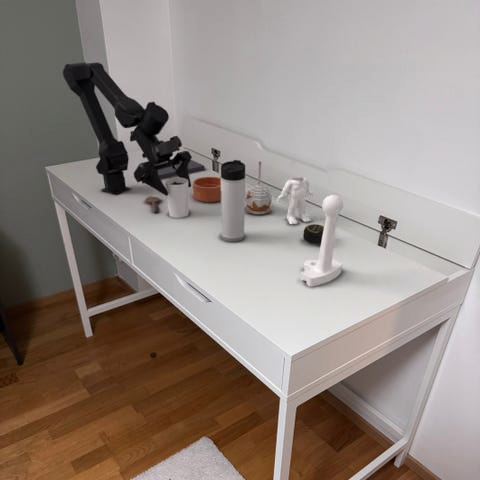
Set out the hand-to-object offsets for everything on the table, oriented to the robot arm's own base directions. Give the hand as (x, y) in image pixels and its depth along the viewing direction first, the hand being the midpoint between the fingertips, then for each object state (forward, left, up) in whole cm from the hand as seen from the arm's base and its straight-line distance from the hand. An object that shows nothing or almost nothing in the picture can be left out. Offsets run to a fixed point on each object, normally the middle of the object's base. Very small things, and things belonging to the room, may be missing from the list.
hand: (179, 190), depth 135 cm
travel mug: (+21, -5, -7) cm, 23 cm away
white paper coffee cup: (-1, 0, -7) cm, 8 cm away
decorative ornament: (+18, +15, -7) cm, 25 cm away
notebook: (-28, +32, -7) cm, 43 cm away
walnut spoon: (-11, +1, -7) cm, 13 cm away
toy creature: (+31, +15, -8) cm, 36 cm away
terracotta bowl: (-1, +17, -7) cm, 18 cm away
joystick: (+49, -12, -7) cm, 51 cm away
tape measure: (+42, +5, -8) cm, 43 cm away
